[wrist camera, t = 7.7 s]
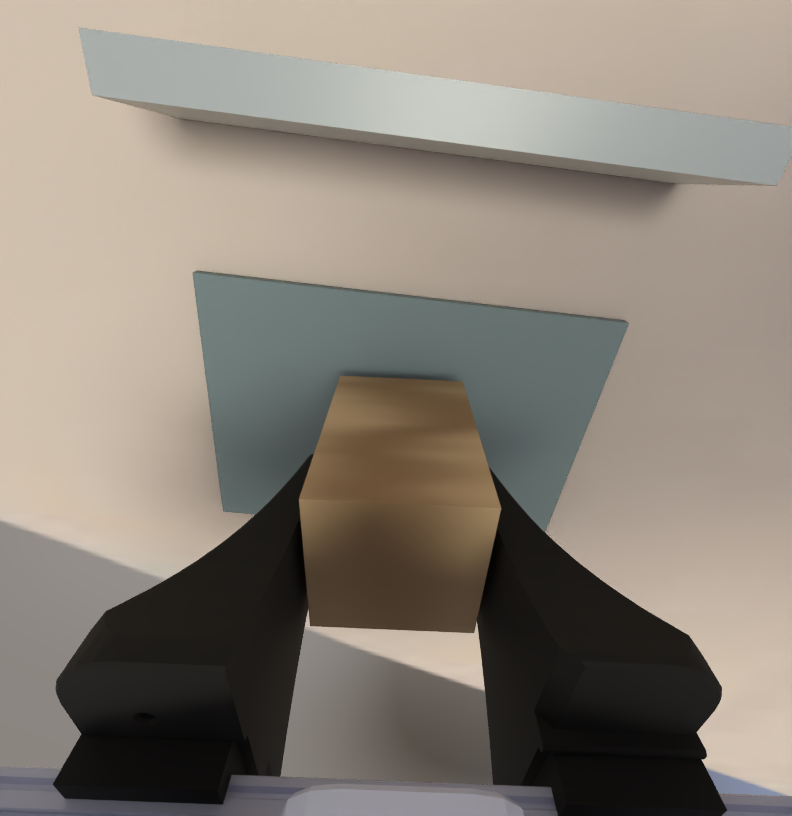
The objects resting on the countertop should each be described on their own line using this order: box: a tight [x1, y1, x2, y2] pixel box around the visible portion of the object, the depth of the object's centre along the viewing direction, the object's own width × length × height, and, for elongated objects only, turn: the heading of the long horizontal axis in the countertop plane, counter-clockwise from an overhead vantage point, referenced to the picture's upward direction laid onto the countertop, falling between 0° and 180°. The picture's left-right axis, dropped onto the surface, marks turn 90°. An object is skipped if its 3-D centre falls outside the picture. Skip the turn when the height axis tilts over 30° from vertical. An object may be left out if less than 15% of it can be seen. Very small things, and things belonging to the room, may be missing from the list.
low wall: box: [78, 27, 792, 186], centre depth 10 cm, size 14×1×4 cm, turn 84°
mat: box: [193, 271, 629, 532], centre depth 16 cm, size 14×10×1 cm
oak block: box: [299, 376, 501, 633], centre depth 12 cm, size 4×4×6 cm
